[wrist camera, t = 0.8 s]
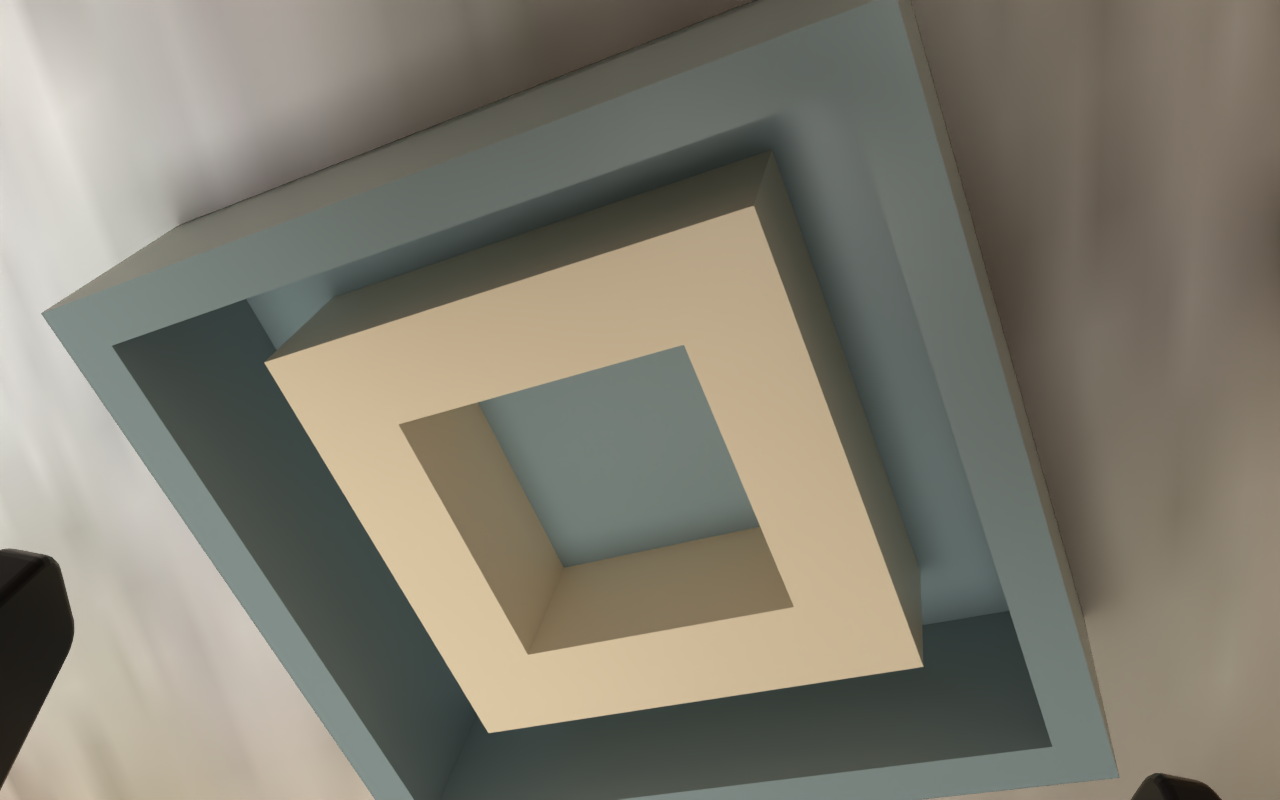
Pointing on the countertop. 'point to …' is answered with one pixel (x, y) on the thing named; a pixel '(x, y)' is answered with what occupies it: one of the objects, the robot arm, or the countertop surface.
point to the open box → (627, 437)
